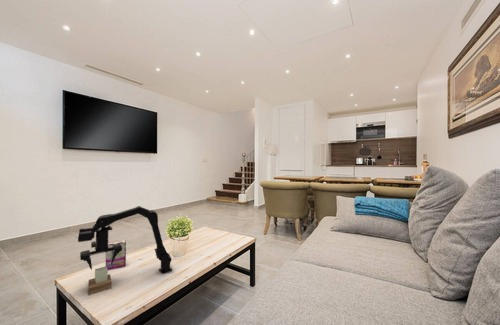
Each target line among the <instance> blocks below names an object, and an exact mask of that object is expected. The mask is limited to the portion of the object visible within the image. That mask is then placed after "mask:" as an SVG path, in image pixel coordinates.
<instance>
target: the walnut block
mask: <svg viewBox="0 0 500 325" xmlns="http://www.w3.org/2000/svg"><path fill="white" fill-rule="evenodd" d="M112 286H113V285H112V277H111V274H109V273H108V274H107V281H104V282H100V283H97V284H96V282H95V277H94V278H90V279H88V286H87V287H88V288H87V290H88V292H87V294H88V296H91V295H94V294H97V293H100V292H104V291H107V290H111V289H112Z"/></svg>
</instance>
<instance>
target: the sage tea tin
mask: <svg viewBox="0 0 500 325" xmlns="http://www.w3.org/2000/svg"><path fill="white" fill-rule="evenodd" d="M108 271H109V270H108V269H107V267H106V265H105V266H102V267H98V268H94V278H95V282H96V284H97V283H100V282H104V281H107V275H109V273H108Z"/></svg>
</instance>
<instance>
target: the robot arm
mask: <svg viewBox="0 0 500 325" xmlns="http://www.w3.org/2000/svg"><path fill="white" fill-rule="evenodd" d="M136 215H140V216H142V217H144V218H146V219H147V221H148V222H149V224H150V227H151V230H152V233H153V237H154V240H155V241H154V242H155V245H156V248H154V251H155V252H154V253H155V256H156V259H158V260H159V261H160V268H158V271H159V272H160V273H161V274H162V275H163V274H166V273H168V272H171V271H173V268H172V267H171V263H172V257H171V255H170V253H168V251H167V249H166V248H165V245H164V243H163V239H162V234H161V231H160V228H159V216H158V213H157V212H156V211H155V210H153V209H151V210H150V209H148V208H145V207H143V206H140V205H139V206H135V207H133V208H129V209H126V210H123V211H120V212H117V213H111V214H103V215H99V216H98V218H97V219H96V221H95V224H93V225H92V227H87V228H80V229H79V232H78V236H77V243H82V242H89V241H91V243H90V246H91V249H92V248H94V251H90V249H88V250H83V251H80V253H79V260H80V261H83V262H86V263H87V264H88V267H89V270H91V271H92V270H93V264H92V258H91V256H95V255H100V254H103V253H106V252H109V251H112V256H111V264H112V263H113V261H114V259H115V257H116V255H117V254H118V253H119V251H122V246H121V244H115V245H113V247H111V248H108V242H109V231H112V230H113V227H112V226H111V225H112V224H113V223H116V222H117V221H119V220H123V219H126V218H129V217H133V216H136ZM93 239H95V241H92V240H93Z"/></svg>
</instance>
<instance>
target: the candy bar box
mask: <svg viewBox="0 0 500 325" xmlns="http://www.w3.org/2000/svg"><path fill="white" fill-rule="evenodd" d="M115 244H121V246H122V251H119V253H118V254H117V255H116V257H115V259H114V261H113V263H112V264H111V256H112V251H109V252H105V266H106V267H107V269H108V271H109V270H114V269H119V268H122V267H123V268H125V267H126V265H127V239H123V240H116V241H108V248H111V247H113V245H115Z"/></svg>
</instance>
